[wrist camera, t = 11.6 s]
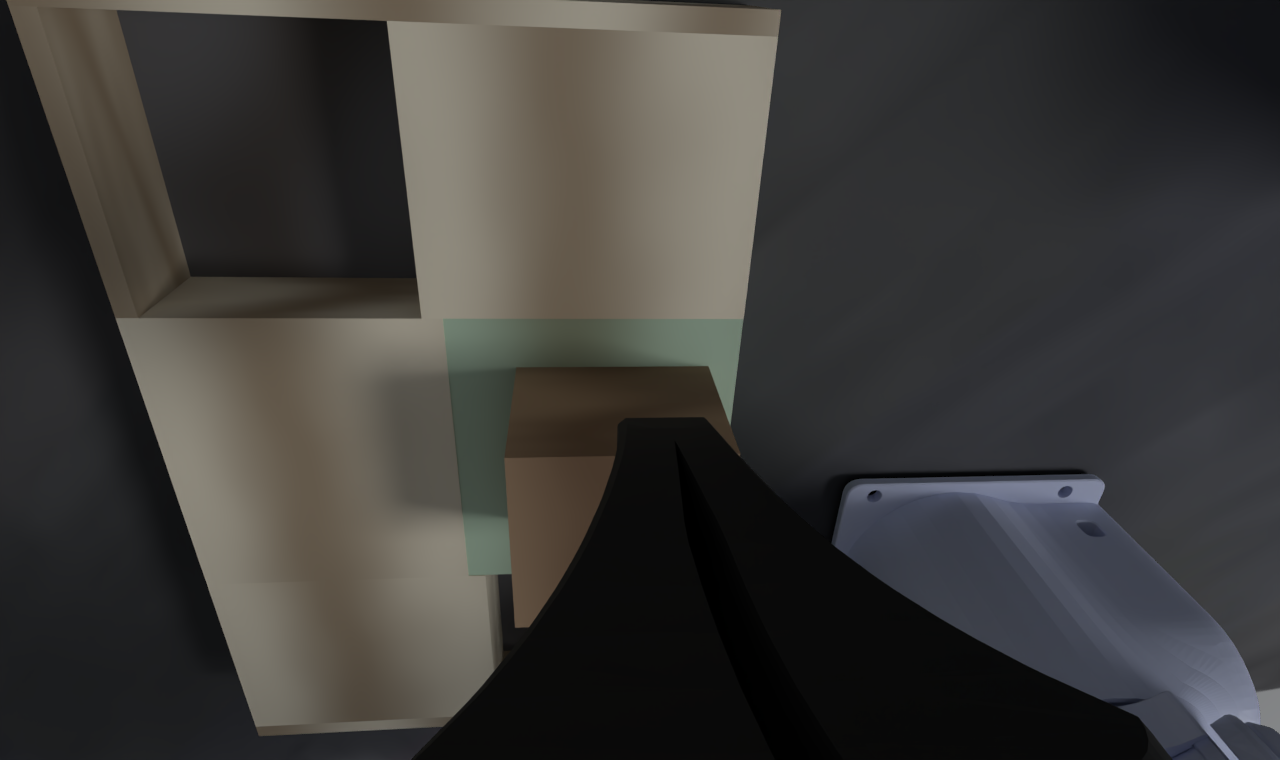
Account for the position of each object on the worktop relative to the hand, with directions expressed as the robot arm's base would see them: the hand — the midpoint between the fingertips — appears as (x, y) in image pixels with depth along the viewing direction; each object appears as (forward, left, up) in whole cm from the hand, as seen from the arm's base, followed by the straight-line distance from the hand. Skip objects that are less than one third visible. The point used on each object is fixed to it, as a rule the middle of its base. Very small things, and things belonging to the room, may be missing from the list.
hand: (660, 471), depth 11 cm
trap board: (+5, +5, -10) cm, 12 cm away
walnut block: (0, +5, -7) cm, 9 cm away
